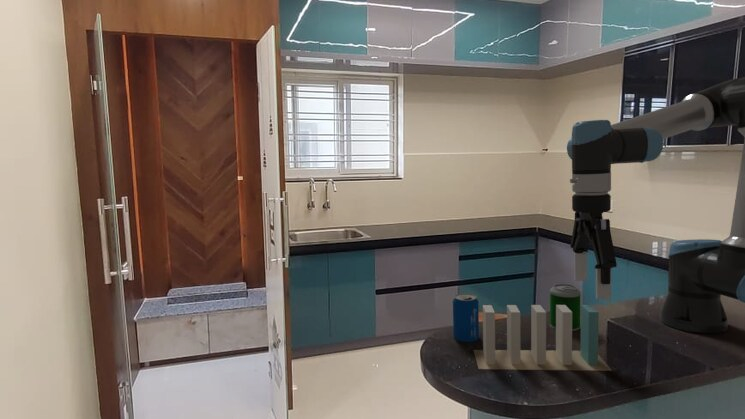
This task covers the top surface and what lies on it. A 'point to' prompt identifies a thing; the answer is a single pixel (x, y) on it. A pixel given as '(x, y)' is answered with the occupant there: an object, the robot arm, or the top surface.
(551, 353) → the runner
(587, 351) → the head tile
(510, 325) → the tile
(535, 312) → the tile
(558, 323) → the tile
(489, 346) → the tile
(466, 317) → the beverage can
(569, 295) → the soda can
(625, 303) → the top surface
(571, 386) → the top surface
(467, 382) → the top surface
